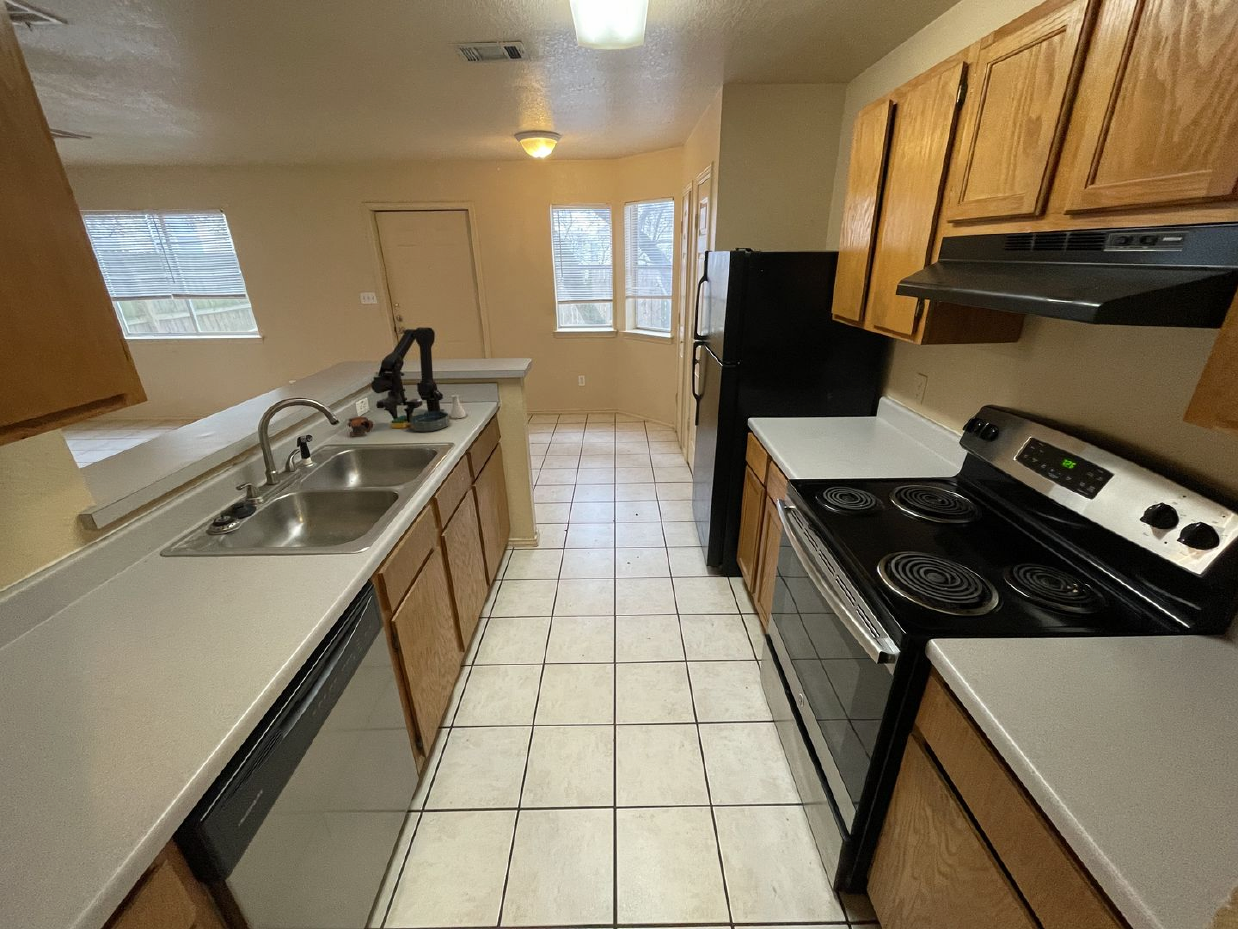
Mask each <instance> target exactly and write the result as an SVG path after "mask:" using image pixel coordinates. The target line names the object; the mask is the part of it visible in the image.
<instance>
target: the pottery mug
mask: <svg viewBox="0 0 1238 929" xmlns="http://www.w3.org/2000/svg"><path fill="white" fill-rule="evenodd" d="M348 421H349V422H348V423H347V424H346V426H347V427H348V428H351V431H349V435H350V437H351V438H353V437H363V436H366V433H368V434H369V433H370V432H371V430H372V429H373V427H374V422H373V420H370V419H369V418H368V417H365V416H357V417H352V418H349V419H348Z"/></svg>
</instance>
